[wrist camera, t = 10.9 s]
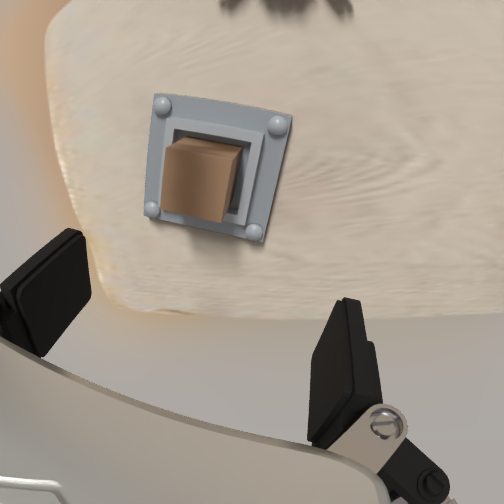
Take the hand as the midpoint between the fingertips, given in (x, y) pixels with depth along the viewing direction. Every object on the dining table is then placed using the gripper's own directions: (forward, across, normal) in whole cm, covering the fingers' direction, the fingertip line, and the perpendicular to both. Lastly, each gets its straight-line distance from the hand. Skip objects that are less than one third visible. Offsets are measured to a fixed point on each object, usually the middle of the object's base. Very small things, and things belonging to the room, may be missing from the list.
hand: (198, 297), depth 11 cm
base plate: (+20, +5, +1) cm, 20 cm away
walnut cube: (+18, +5, +1) cm, 19 cm away
